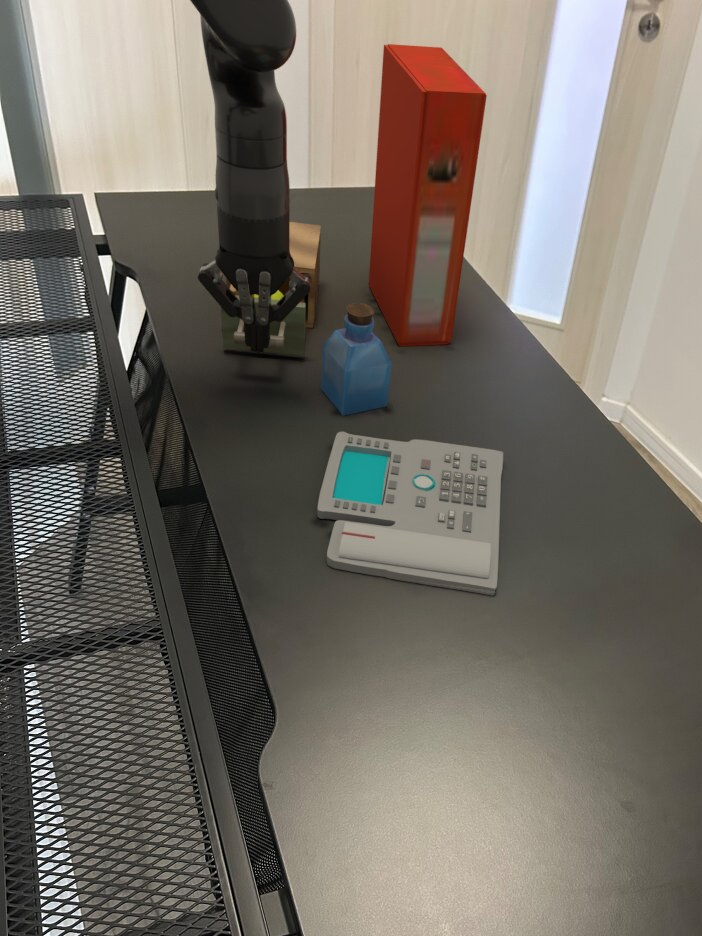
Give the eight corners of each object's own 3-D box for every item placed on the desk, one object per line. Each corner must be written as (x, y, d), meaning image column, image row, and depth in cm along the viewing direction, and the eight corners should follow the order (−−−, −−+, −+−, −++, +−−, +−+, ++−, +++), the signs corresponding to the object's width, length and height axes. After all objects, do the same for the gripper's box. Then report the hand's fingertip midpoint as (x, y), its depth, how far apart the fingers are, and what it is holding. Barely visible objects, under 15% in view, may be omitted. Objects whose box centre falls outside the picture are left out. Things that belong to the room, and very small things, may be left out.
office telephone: (501, 579, 85) (302, 551, 84) (496, 597, 87) (302, 569, 86) (505, 442, 101) (338, 416, 100) (501, 459, 103) (337, 434, 102)
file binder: (395, 346, 118) (422, 89, 95) (366, 286, 129) (384, 43, 106) (450, 344, 121) (489, 93, 98) (417, 285, 132) (445, 47, 109)
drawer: (301, 377, 108) (302, 328, 103) (217, 369, 107) (214, 319, 102) (310, 309, 120) (311, 262, 115) (235, 301, 119) (233, 253, 114)
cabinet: (313, 328, 118) (314, 268, 112) (227, 319, 117) (224, 258, 111) (319, 282, 128) (321, 225, 122) (240, 273, 126) (238, 215, 120)
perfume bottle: (386, 406, 108) (396, 318, 99) (343, 415, 105) (348, 326, 96) (364, 380, 111) (371, 293, 103) (321, 389, 108) (324, 300, 100)
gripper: (319, 194, 93) (315, 338, 106) (194, 179, 91) (206, 327, 104) (314, 223, 88) (311, 371, 100) (182, 208, 86) (195, 359, 99)
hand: (257, 348), depth 102 cm, fingers closed
